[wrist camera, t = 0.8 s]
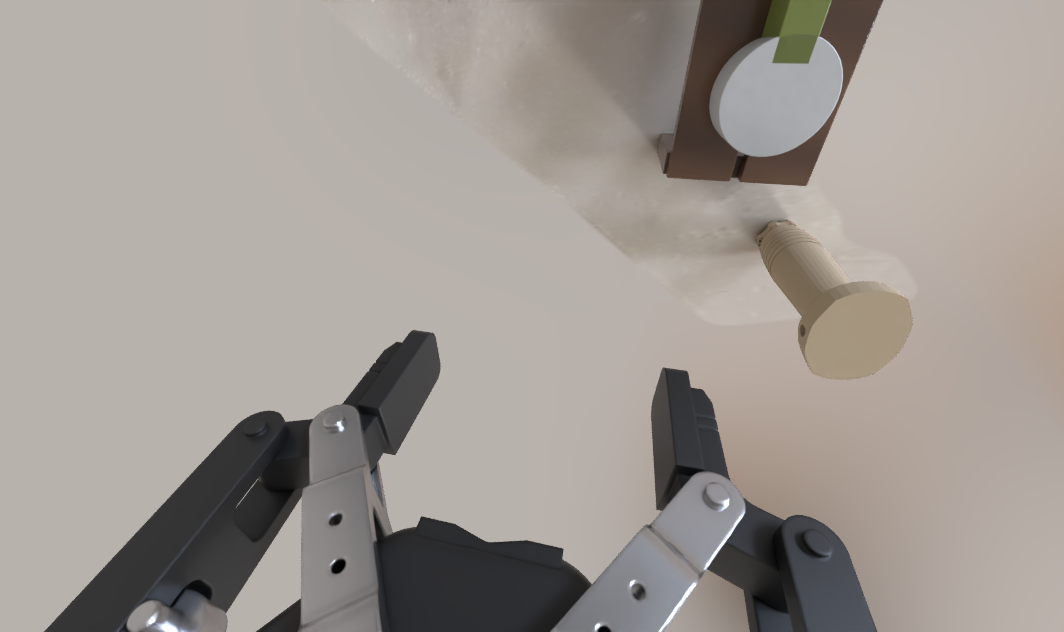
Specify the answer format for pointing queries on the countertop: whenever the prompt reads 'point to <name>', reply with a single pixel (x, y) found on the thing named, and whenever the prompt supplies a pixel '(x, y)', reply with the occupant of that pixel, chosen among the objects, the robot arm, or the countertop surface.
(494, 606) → the robot arm
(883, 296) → the handle
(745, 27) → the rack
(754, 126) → the green handled white cylinder
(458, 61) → the countertop surface
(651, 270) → the countertop surface
